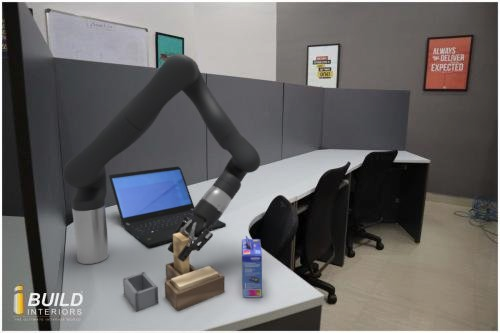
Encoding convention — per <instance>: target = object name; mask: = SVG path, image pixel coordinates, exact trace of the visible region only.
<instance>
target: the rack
mask: <svg viewBox="0 0 500 333" xmlns="http://www.w3.org/2000/svg"><path fill="white" fill-rule="evenodd" d="M209 266H210V267H211V268H212V269H214V270H215V271H216V272H218V277H217V278H215V279H212V280H209V281H207V282H204V283H201V284H199V285H196V286H193V287H191V288H188V289H185V290H182V291H180V292H178V291H177V290H176V289H175V288H174V287H173V286H172V285H171V279H172V278H175V277H178V276H181V275H180V274H179V273H178V272H177V271H176V270H175V269H174V261H172V262H169V263H166V264H165V277H166V280H165V281H164V296H165V299H166V300H167V301H168V302H169V303H170V304H171V306H172V307H173V308H174V309H175V310H176V311H177V312H180V311H182V310H185V309H188V308H189V307H192V306H194V305H197V304H199V303H202V302H204V301H206V300H209V299H211V298H214V297H215V296H219V295H221V294H223V293H226V292H225V291H226V290H225V289H226V288H225V286H226V285H225V283H226V282H225V276H224V275H223V274H221V272H219V271H218V270H216V269H215V268H214V267H212V265H209ZM195 270H198V269H197V268H195V267H194V266H193V265H192V264H191V263H189V271H190V272H192V271H195Z"/></svg>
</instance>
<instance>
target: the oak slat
mask: <svg viewBox="0 0 500 333" xmlns="http://www.w3.org/2000/svg"><path fill="white" fill-rule="evenodd" d="M188 241H189V238H187V237H185V236H184V235H182V234H181V233H180V232H179V233H175V234H173V241H172V242H173V251H174V253H172V255H173V262H174V269H175V270H176V271H177V272H178V273H179V274H180V275H183V274H186V273H189V272H190V271H189V264H190V255H189V256H188V257H187V259H186V260H185V261H184V262H182V261H181V260H179V259H178V258H177V257H178V255H179V254H180V252H181V251H182V250H183V249H184V247H185V246H187V243H188Z"/></svg>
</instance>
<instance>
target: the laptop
mask: <svg viewBox="0 0 500 333" xmlns="http://www.w3.org/2000/svg"><path fill="white" fill-rule="evenodd" d="M108 178H109V182H110V185H111V189H112V191H113V192H112V193H113V195H114V199H115V202H116V203H115V204H116V206H117V210H118V213H119V216H120V221H121V225H122V226H123V228H124V230H126V231H127V232H129V233H130V234H132V235H133V236H134V237H135V238H136V239H138V240H139V241H140V242H141V243H143V245H145V246H146V247H149V248H152V247H157V246H160V245H163V244H166V243H170V242H173V234H174V231H175V229H176V228H177V226H178V224H179V223H180V221H181V219H182V218H183V216H186V217H187V218H190V217H192V216H193V215H194V213H193V209H194V207H195V204H194V202H193V199H192V196H191V194H190V191H189V189H188V184H187V182H186V179H185V176H184V173H183V171H182V168H181V167H179V166H170V167H163V168H162V167H161V168H156V169H155V168H154V169H153V168H152V169H147V170H138V171H131V172H124V173H123V172H122V173H115V174H109V175H108ZM226 225H227V223H225V222H224V221H221V220H220V219H219V220H218V221H217V222H216V224H215V225H214V226H211V225H210V227H209V231H210V232H211V231H213V230H215V229H220V228H224V227H226ZM180 229H181V228H180ZM180 231H181V230H179V232H180ZM185 231H186V230H185ZM183 235H184V234H183Z"/></svg>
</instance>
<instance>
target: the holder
mask: <svg viewBox="0 0 500 333" xmlns="http://www.w3.org/2000/svg"><path fill="white" fill-rule="evenodd" d="M122 282H123V295H124V296H125V298H126V299H127V300H128V302H129V304H130V305H131V306H132V307H133V309H134V310H135V312H139V311H142V310H145V309H147V308H150V307H152V306H154V305H157V304H158V305H159V287H158V286H157V284H155V282H154V281H153V280H152V279H151V278H150V276H149V275H147V273H145V271H143V272H140V273H136V274H134V275H133V274H132V275H130V276H127V277H124V278H123V279H122Z"/></svg>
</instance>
